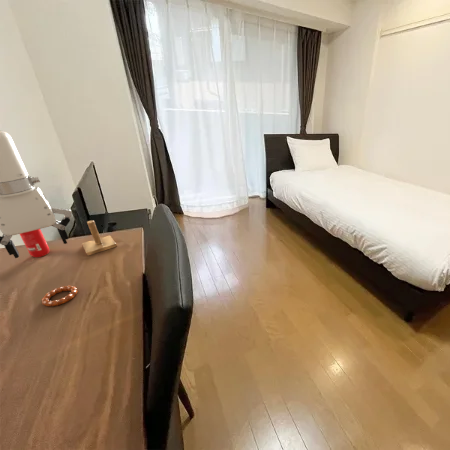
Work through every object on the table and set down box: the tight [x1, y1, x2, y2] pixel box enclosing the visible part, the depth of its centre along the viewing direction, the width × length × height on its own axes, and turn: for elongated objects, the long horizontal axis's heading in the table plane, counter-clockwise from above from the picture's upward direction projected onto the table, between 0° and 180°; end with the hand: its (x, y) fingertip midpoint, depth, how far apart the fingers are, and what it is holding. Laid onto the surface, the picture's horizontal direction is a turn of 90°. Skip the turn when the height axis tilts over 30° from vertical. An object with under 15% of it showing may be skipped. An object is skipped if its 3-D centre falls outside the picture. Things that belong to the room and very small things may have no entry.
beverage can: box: [19, 229, 50, 258], centre depth 93 cm, size 5×5×12 cm
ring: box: [41, 285, 79, 307], centre depth 75 cm, size 8×8×1 cm
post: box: [81, 220, 118, 256], centre depth 98 cm, size 9×9×10 cm
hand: (42, 248), depth 71 cm, fingers open, 9 cm apart
